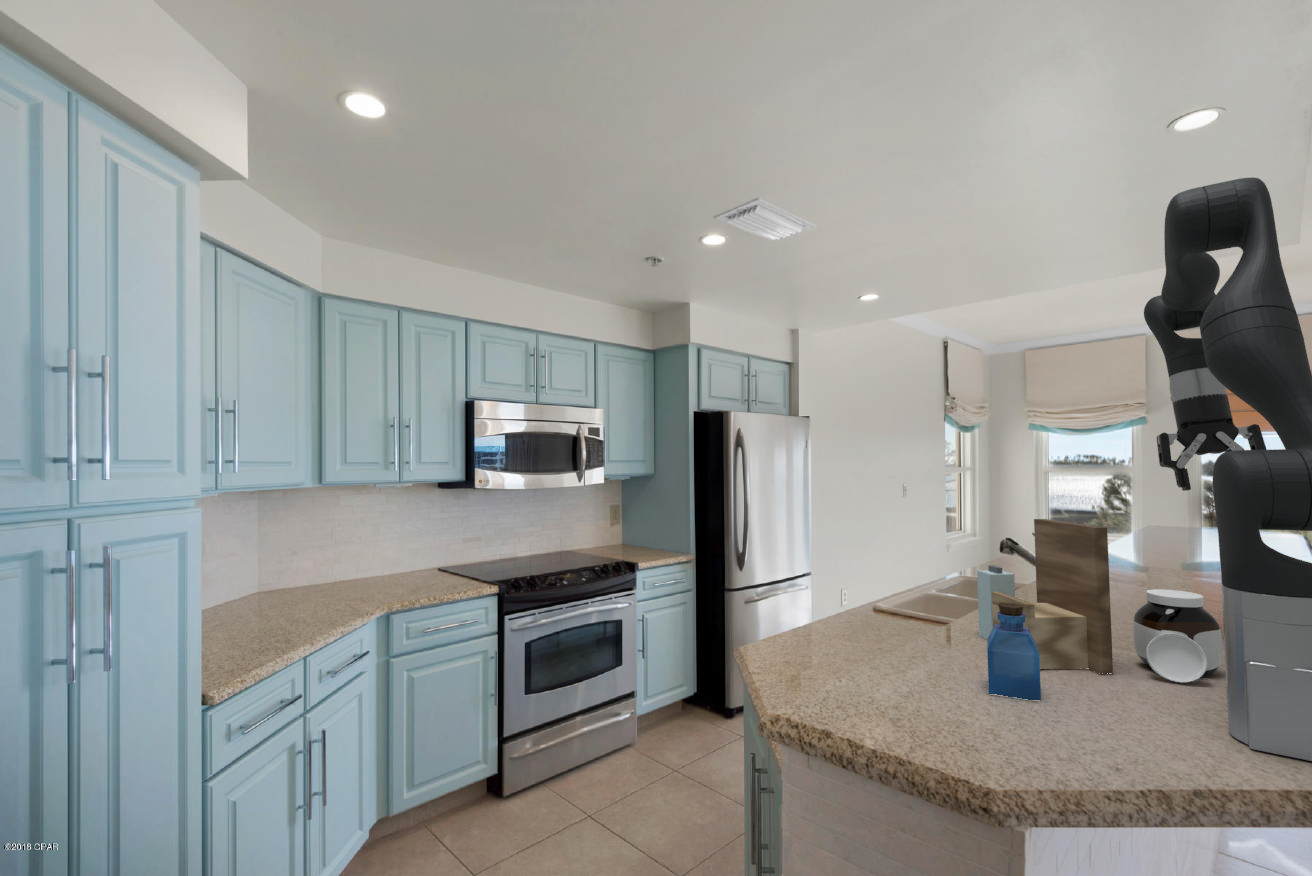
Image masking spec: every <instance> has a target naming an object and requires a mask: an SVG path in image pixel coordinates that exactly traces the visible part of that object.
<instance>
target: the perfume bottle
mask: <svg viewBox="0 0 1312 876" xmlns="http://www.w3.org/2000/svg"><path fill="white" fill-rule="evenodd" d="M998 605H999V609H1000V611H999V612H997V619H998V620H999V621H1000V624H995V626H994V627H993V629H992V631H991V633H990V635H989V636H988V638H987V640H986V641H987V644H986V645H987V649H986V650H987V653H986V654H987V677H988V678H987V680H988V681H987V683H988V684H987V685H988V695H989V694H997V695H1003V696H1008V697H1017V698H1022V699H1028V700H1041V701H1042V691H1041V690H1042V688H1041V685H1042V684H1041V670H1040V656H1039V652H1038V648H1037V644H1036V642H1035V640H1034V639H1033V637H1032V635H1031V633H1030V631H1029V629H1028V628H1027V627H1023V623H1025V622H1026V621H1025V614H1023V613H1022V612H1023V608H1024V606H1023V605H1021V604H1016V603H999V604H998ZM1028 700H1027V701H1028Z"/></svg>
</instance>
